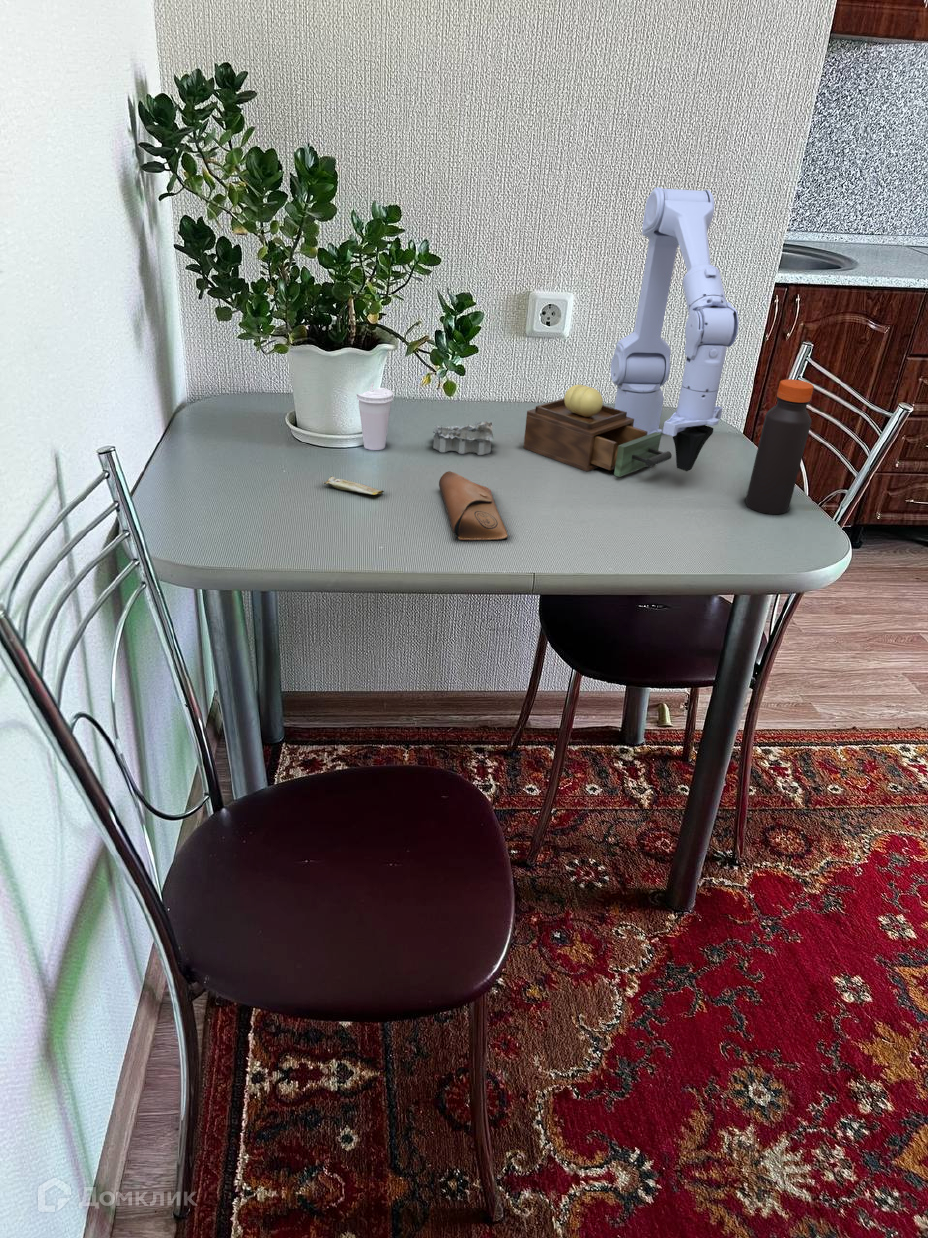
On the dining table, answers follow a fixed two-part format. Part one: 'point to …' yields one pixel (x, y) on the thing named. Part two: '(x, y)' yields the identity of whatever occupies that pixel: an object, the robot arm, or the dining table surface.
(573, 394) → the pale yellow lobed ovoid
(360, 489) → the snack bar
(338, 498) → the dining table surface
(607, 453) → the drawer
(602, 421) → the brown wooden tray
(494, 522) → the sunglasses case
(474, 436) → the egg carton
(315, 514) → the dining table surface
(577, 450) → the cabinet
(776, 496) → the bottle
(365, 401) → the smoothie
